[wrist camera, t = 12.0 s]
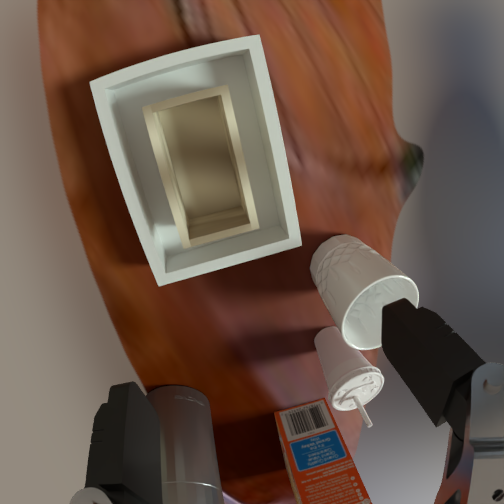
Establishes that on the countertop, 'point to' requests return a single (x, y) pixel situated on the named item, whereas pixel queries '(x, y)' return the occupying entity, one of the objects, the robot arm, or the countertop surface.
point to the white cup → (358, 288)
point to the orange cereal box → (318, 456)
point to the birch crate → (202, 165)
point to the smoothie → (347, 373)
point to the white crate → (252, 140)
